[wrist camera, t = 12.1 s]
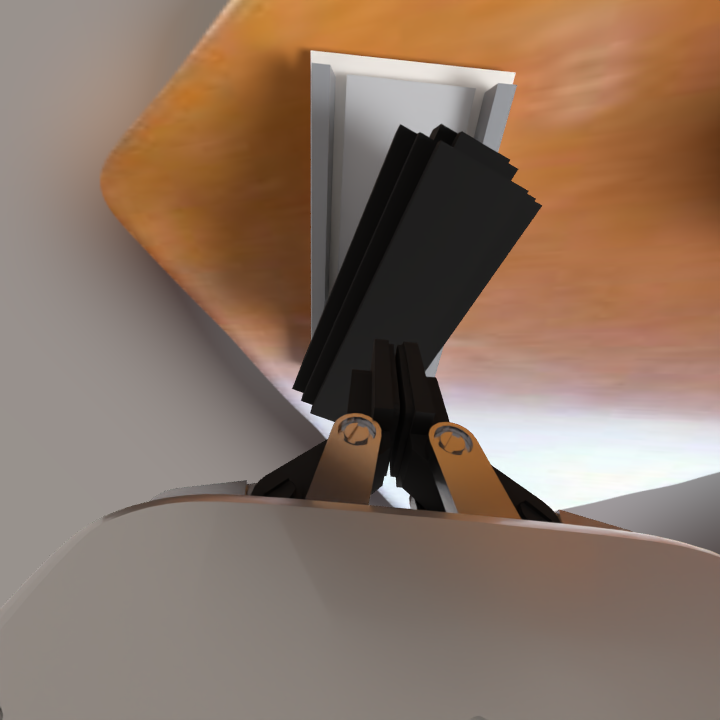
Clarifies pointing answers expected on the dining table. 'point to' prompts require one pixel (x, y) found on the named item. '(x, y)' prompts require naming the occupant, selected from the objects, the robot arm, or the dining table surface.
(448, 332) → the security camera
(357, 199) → the rail mount
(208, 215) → the dining table surface
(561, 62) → the dining table surface
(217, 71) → the dining table surface
